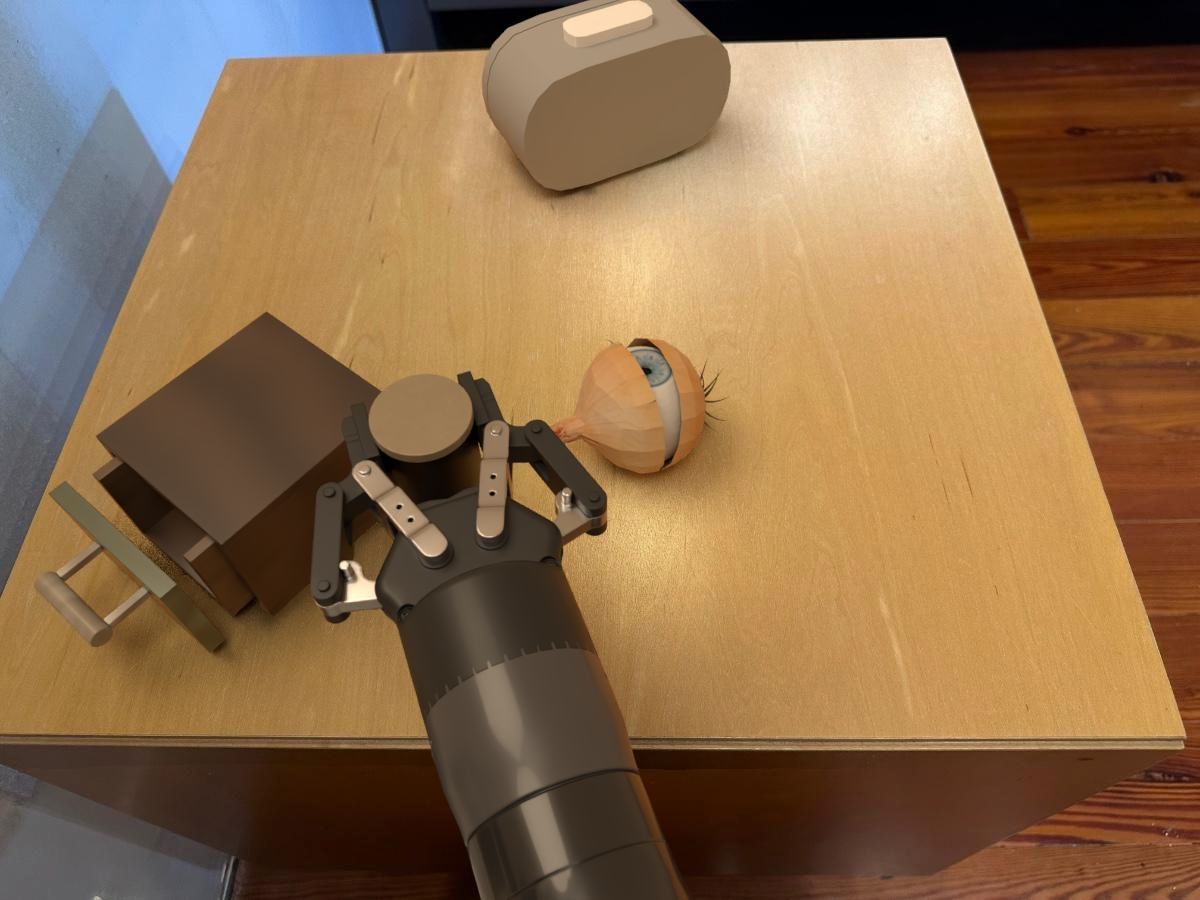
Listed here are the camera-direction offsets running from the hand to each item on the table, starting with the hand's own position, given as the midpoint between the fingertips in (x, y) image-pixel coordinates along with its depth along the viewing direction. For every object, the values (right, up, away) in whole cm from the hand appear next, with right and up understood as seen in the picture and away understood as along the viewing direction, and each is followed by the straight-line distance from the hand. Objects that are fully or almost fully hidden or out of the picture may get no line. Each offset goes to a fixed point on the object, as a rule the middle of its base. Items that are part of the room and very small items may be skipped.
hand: (413, 399), depth 46 cm
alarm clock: (+10, +26, +42) cm, 51 cm away
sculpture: (+12, -3, +22) cm, 25 cm away
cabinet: (-13, -6, +19) cm, 24 cm away
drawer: (-17, -10, +16) cm, 25 cm away
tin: (+1, -6, +3) cm, 7 cm away
